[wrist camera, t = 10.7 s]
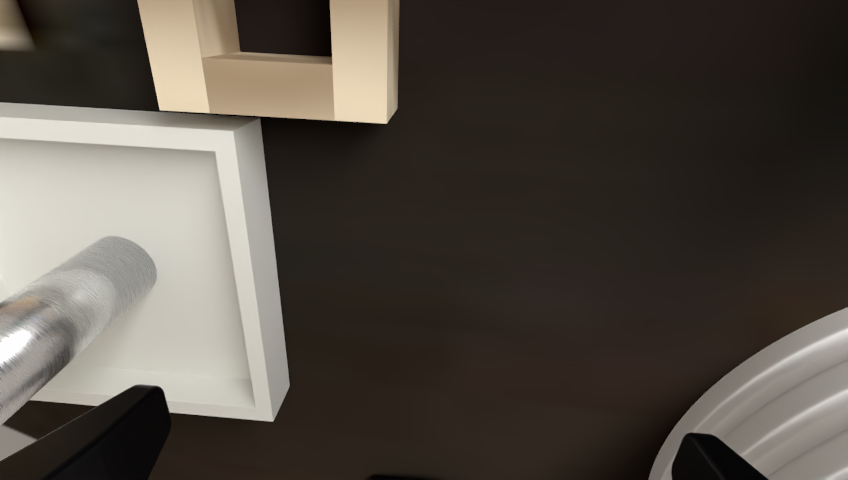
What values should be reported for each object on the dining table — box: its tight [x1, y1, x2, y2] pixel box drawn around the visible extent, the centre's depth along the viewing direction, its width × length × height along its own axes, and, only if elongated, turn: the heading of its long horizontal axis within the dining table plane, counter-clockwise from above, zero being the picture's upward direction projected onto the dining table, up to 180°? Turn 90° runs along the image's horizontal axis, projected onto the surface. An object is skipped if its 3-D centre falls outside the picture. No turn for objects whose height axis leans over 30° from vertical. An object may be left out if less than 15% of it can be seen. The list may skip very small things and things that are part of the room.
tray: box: [0, 102, 290, 422], centre depth 21 cm, size 15×15×2 cm
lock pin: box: [0, 236, 157, 426], centre depth 18 cm, size 3×3×9 cm
